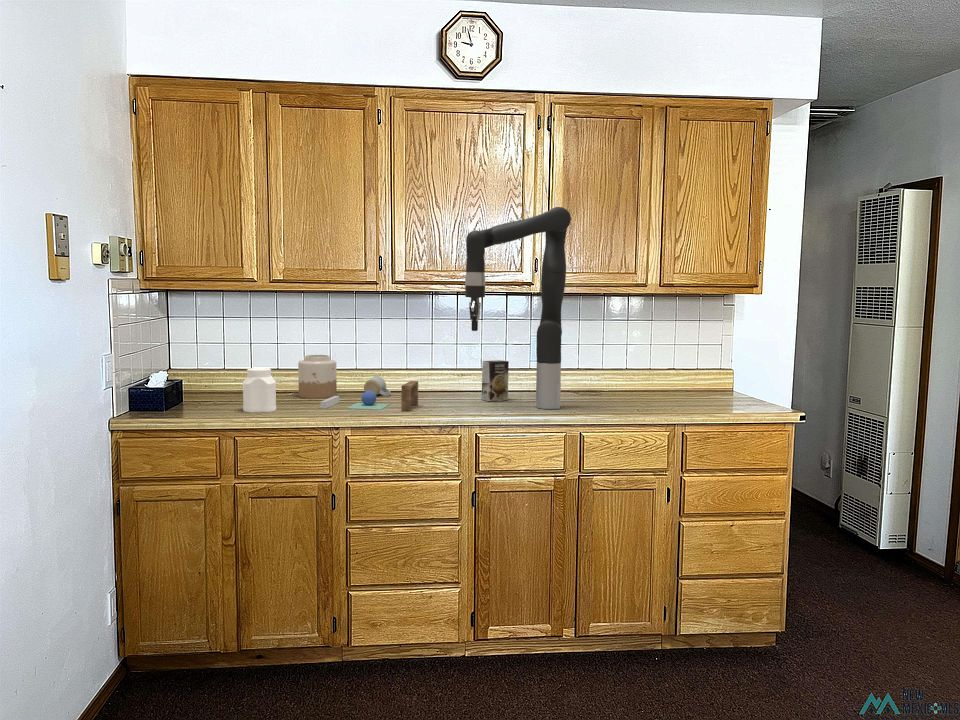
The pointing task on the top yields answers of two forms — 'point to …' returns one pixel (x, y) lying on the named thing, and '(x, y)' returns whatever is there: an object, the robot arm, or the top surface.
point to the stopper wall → (329, 402)
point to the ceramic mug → (377, 386)
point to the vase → (317, 377)
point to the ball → (368, 398)
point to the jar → (259, 391)
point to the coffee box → (495, 380)
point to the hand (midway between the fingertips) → (474, 330)
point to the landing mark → (368, 406)
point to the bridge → (409, 395)
